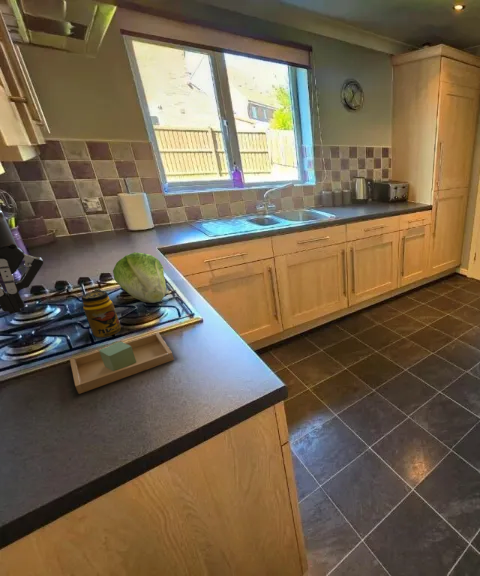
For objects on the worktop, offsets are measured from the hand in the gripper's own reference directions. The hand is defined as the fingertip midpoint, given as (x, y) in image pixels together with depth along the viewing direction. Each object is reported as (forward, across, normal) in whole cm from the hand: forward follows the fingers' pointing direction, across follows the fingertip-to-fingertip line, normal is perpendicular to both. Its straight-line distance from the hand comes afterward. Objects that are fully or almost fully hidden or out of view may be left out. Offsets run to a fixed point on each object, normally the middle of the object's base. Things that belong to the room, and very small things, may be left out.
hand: (15, 311), depth 62 cm
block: (+18, -12, 0) cm, 22 cm away
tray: (+19, -13, 0) cm, 23 cm away
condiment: (+19, -12, -20) cm, 30 cm away
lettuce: (+19, -27, -40) cm, 52 cm away
